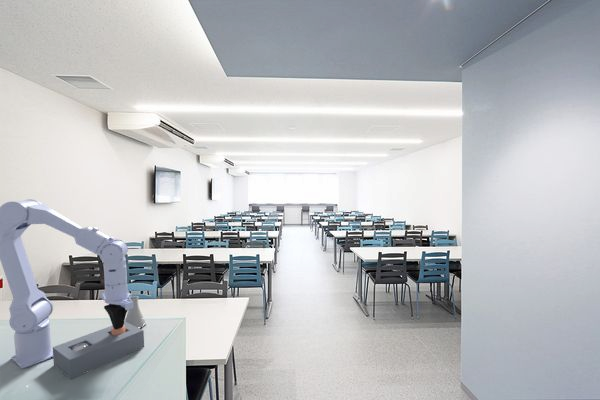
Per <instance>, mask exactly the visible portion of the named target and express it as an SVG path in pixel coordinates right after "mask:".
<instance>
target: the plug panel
mask: <svg viewBox="0 0 600 400" xmlns="http://www.w3.org/2000/svg"><path fill="white" fill-rule="evenodd" d="M124 325H125V331H126V332H124V333H122V334H119V335H117V336H113V335H112V334H111V329H112V328H113V325H110V326H107V327H105V328H104V327H103V328H101V329H98V330H97V331H94V332H91V333H87V334H85V335H83V336H80V337H77V338H74V339H72V340H69V341H66V342H63V343H61V344H58V345H55V346H52V350H53V357H52V358H53V359H52V360H53V366H54V367H55V368H56V369H58V370H59V371H60V372H61V373H63V374H64V375H65V376H66V377H68V379H70V380H73V379H75V378H77V377H79V376H82V375H84V374H86V373H88V372H87V371H89V372H90V370H91V371H93V370H95V369H97V368H99V367H102V366H105V365H106V364H109V363H111V362H114V361H116V360H117V359H119V358H122V357H124V356H126V355H129V354H130V353H133V352H136V351H138V350H140V349H142V348H144V347H145V334H144V331H145V330H143V328H141V329H140V328H138V327H136V326H133V325H131V324H129V323H127V322H125V320H124ZM81 343H87V344H88V346H89V347H86V348H83V349H81V350H78V351H76V352H74V351H73V350H72V348H73V347H74V346H76V345H78V344H81ZM92 369H93V370H92ZM85 372H86V373H85ZM83 373H84V374H83ZM81 374H82V375H81Z"/></svg>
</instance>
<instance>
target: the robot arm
mask: <svg viewBox="0 0 600 400" xmlns="http://www.w3.org/2000/svg"><path fill="white" fill-rule="evenodd" d="M31 225H46V226H48V227H51V228H53V229H55V230H58V231H59V232H62V233H64V234H66V235H68V236H70V237H72V238H73V239H74V241H75V244H76V245H77V246H80V247H82V248H83V249H85V250H87V251H89V252H91V253H93V254H94V255H97V256H99V259H100V260H101V261H102V262H103V275H104V276H103V277H104V292H102V293H101V300H102V301H104V303H105V304H106V305H104V306H103V309H104V310H105V312H106V313H107V314H108V316H109V318H110V323H111V326H113V328H114V329H116V330H117V329H119V328H122V327H123V325H124V321H125V319H126V316H127V313H128V310H129V309H132V308H134V306H133V301H131V299H130V297H132V295H133V294H132V293H130V292H129V290H128V275H127V273H128V269H127V259H126V255H127V254H128V251H129V249H128V245H127V244H126V242H124V241H123V240H122V239H119V238H118V239H116V238H115V237H114V236H108V235H106V234H105V233H103V232H101V231H99V228H98V227H96V226H94V227H92V226H85V227H83V226H81V225H79V224H78V223H76V222H74V221H72V220H71V219H69V218H68V217H66V216H64V215H63V214H60V213H59V212H58V211H56V210H54V209H52V208H51V207H50V206H48V205H47V204H44V203H41V202H40V201H38V200H36V199H25V200H17V201H8V202H5V203H2V205H0V263H1V266H2V269H3V271H4V274H5V278H6V280H7V283H8V287H9V289H10V292H11V295H12V300H11V303H10V305H9V308H8V309H9V312H10V316H9V317H10V318H9V326H10V328H11V329H12V330H13V331H14V335H13V336H14V338H13V339H14V352H15V353H14V355H11V357H10V359H12V361H13V362H14V363H15V364H16V365H18V366H19V367H20V369H26V368H29V367H31V366H33V365H36V364H39V363H42V362H44V361H46V360H49V359H52V358H53V351H52V350H53V349H52V339H51V338H52V337H51V327H50V325H51V324H50V316H51V315H52V313H53V311H54V305H53V303H52V302H51V300H49V299H48V298H47V296H46V293H45V292H44V291H43V290H40V289H38V288H39V287H38V285H37V282H36V279H35V275H34V273H33V270H32V267H31V263H30V261H29V257H28V255H27V251H26V248H25V246H24V243H23V239H22V237H21V236H22V235H23V234H24V232H25V231H27V229H28V228H29V226H31ZM51 349H52V350H51ZM51 357H52V358H51Z"/></svg>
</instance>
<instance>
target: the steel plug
mask: <svg viewBox="0 0 600 400" xmlns="http://www.w3.org/2000/svg"><path fill="white" fill-rule="evenodd" d="M86 347H89V346H88V344H87V343H81V344H78V345H76V346H74V347H73V348H72V350H73V351H74V352H76V351H78V350H81V349H83V348H86Z"/></svg>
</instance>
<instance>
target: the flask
mask: <svg viewBox="0 0 600 400" xmlns="http://www.w3.org/2000/svg"><path fill="white" fill-rule="evenodd" d="M130 299H131V301H133V306H134V308H132V309H129V310H128V311H127V313H126V316H125V320H124V321H125V322H127V323H129V324H131V325H133V326H136V327H142V326H143V324H144V323H145V322H146V320H145V318H144V316H143V314H142V312H141V310H140V307H139V301H138V300H139V295H138V296H137V295H134V296H131V297H130ZM142 318H144V319H142Z"/></svg>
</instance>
